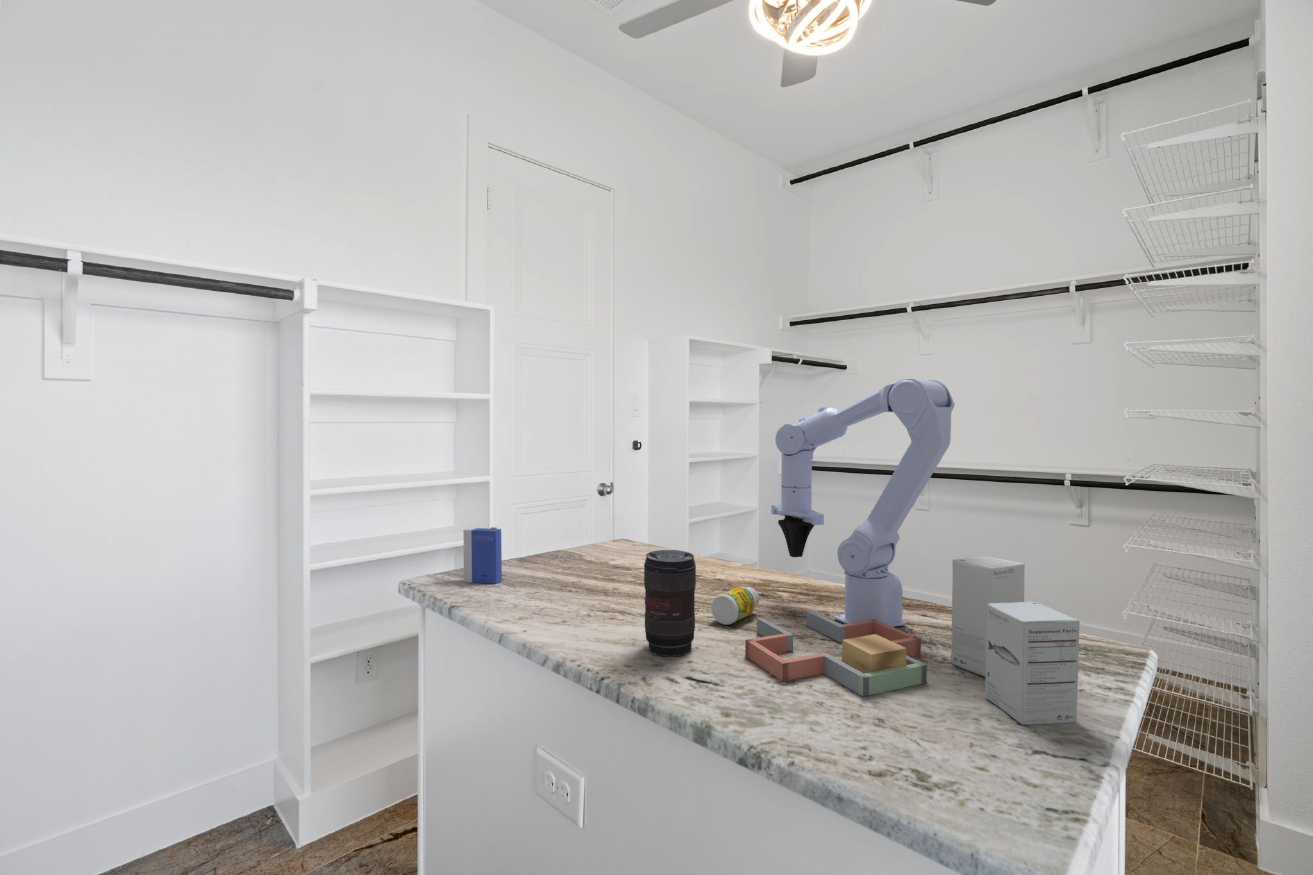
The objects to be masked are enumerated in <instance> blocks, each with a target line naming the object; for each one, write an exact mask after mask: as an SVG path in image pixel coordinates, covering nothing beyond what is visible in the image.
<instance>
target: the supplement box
mask: <svg viewBox="0 0 1313 875" xmlns="http://www.w3.org/2000/svg"><path fill="white" fill-rule="evenodd" d="M1080 622H1081V621H1080V620H1079V619H1076V618H1075V617H1073V616H1070V615H1068V614H1065V613H1063V612H1060V611H1058V610H1056V609H1053V608H1051V607H1049V606H1047V605H1045V604H1043V603H1040V602H1038V601H1037V602H1036V601H1024V602H1014V603H990V604H987V641H986V677H985V685H984V686H985V687H984V688H985V692H984V693H985V694H984V695H985V696H984V697H985V699H986V700H988V701H989V702H991V703H992V704H994V705H996V706H997V707H998V708H1000V710H1002V711H1004V712H1005V713H1006V714H1007V715H1009V716H1011V717H1012V718H1013V719H1014V720H1015V721H1017V722H1018V723H1019V724H1020V725H1023V726H1024V725H1025V726H1026V725H1027V726H1029V725H1050V724H1051V725H1052V724H1055V725H1056V724H1069V723H1070V724H1072V723H1076V722H1078V721H1077V719H1078V717H1077V716H1078V714H1077V713H1078V710H1077V709H1078V688H1079V687H1078V683H1079V681H1078V680H1079V654H1080V653H1079V650H1080V648H1079V646H1080Z"/></svg>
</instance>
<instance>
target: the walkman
mask: <svg viewBox="0 0 1313 875" xmlns="http://www.w3.org/2000/svg"><path fill="white" fill-rule="evenodd" d="M462 532H463V583H473V584H476V583H477V584H490V585H491V584H492V585H497V584H498V583H500V582H502V581H503V580H502V579H503V574H502V573H503V571H502V570H503V567H502V554H503V553H502V528H498V527H497V526H496V527H494V526H493V527H490V528H488V527H487V528H485V527H482V528H481V527H469V528H465V529H463V531H462Z"/></svg>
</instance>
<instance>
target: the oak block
mask: <svg viewBox="0 0 1313 875" xmlns="http://www.w3.org/2000/svg"><path fill="white" fill-rule="evenodd" d="M841 661H842V662H844V663H845V664H847V665H849V666H851V667H853V668H855V669H856V670H858V671H860V672H862V673H864V674H865V673H870V672H875V671H880V670H885V669H890V668H895V667H900V666H905V665H906V648H905V647H903V646H900V645H898V644H896V643H894V642H892V641H890V640H887V639H885V638H883V637H881V636H879V635H876V634H874V635H868V636H862V637H856V638H850V639H844V640H842V642H841Z"/></svg>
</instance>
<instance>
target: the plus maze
mask: <svg viewBox="0 0 1313 875" xmlns="http://www.w3.org/2000/svg"><path fill="white" fill-rule="evenodd" d="M805 614H806V617H805V618H806V621H805V625H806V626H807V627H808V628H811V629H813V631H814V630H815V631H816V632H819V633H821V634H822V635H824V636H826V637H829V638H830V639H832V640H834V641H836V642H837V643H842V640H844V639H850V638H856V637H862V636H868V635H874V634H876V635H879V636H881V637H883V638H885V639H887V640H890V641H892V642H894V643H896V644H898V645H900V646H903V647H905V648H906V665H905V666H900V667H895V668H890V669H885V670H880V671H875V672H870V673H865V674H864V673H862V672H860V671H858V670H856V669H855V668H853V667H851V666H849V665H847V664H845V663H844V662H842V660H840V659H838V658H836V657H834V656H833V655H831V654H830V653H827V652H822V653H816V654H810V655H805V656H800V657H794V658H789V659H788V658H787V659H784V658H782V657H781V656H779V655H778V654H781V653H787V652H793V651H794V634H793V633H791V632H789V631H787V630H785V629H784V628H782V627H780V626H778V625H776V624H774V623H773V622H771V621H769V620H767V619H766V618H763V617H758V618H756V633H757V634H758V635H760V636H761V637H754V638H747V639H745V643H744V644H745V646H744V647H745V650H744V653H745V654H744V656H745V657H747V658H748V659H749V660H751V661H752V662H753V663H755V664H756V665H758V666H760V668H762V669H763V670H765V671H766V672H769V673H770V674H771V675H772V676H774V677H775V678H777V679H779V681H781V682H786V681H787V682H788V681H792V680H798V679H802V678H806V677H807V678H808V677H814V676H818V675H823V674H824V675H826V676H828V677H829V678H831V679H833V680H835V681H836V682H838V683H839V684H841V685H843V686H844V687H846V688H847V689H849V690H851V691H853V692H854V693H856V694H858V695H859V696H861V697H868V696H872V695H876V694H881V693H887V692H891V691H895V690H899V689H900V690H901V689H905V688H909V686H910V687H914V686H918V685H923V683H924V684H928V681H927V680H928V664H926V663H924V662H922V661H920V660H918V659H916V658H913V657H915V656H917V657H918V656H920V655H921V654H922V653H921V649H922V648H921V646H922V639H921V637H918V636H915V635H913V634H910V633H908V632H906V631H904V630H901V629H899V628H896V627H892V626H890V625H887V624H885V623H883V622H880V621H878V620H875V619H873V620H867V621H861V622H854V623H848V624H845V623H843V624H840V623H838V622H836V621H834V620H832V619H829V618H828V617H826V616H823V615H821V614H820V613H817V612H815V611H813V610H806V613H805Z"/></svg>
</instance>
